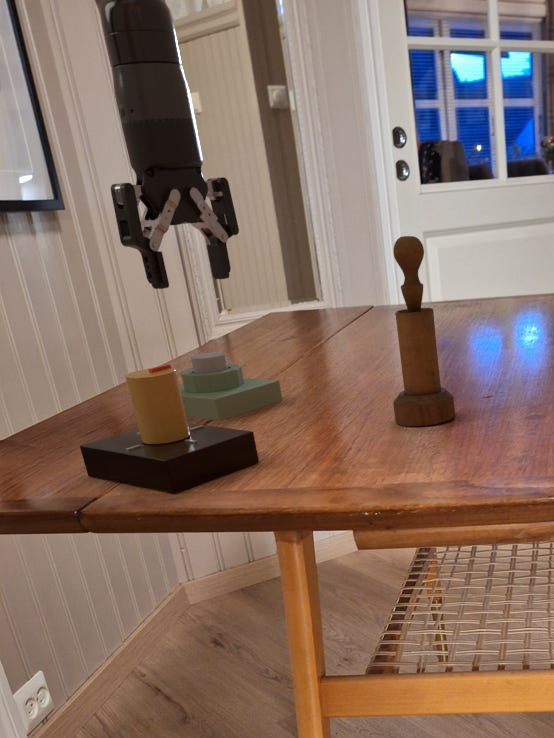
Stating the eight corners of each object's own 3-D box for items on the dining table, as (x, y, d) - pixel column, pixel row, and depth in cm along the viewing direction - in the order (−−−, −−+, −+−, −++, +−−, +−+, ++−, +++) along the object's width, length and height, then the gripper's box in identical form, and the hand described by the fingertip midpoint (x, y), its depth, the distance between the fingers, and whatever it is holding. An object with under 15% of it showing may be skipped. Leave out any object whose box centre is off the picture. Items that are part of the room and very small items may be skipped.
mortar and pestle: (407, 411, 97) (388, 235, 89) (462, 411, 96) (448, 231, 87) (386, 427, 92) (364, 240, 83) (445, 427, 90) (428, 236, 81)
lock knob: (163, 446, 79) (145, 375, 76) (131, 441, 81) (113, 372, 78) (200, 433, 82) (185, 365, 79) (169, 430, 84) (153, 363, 81)
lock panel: (88, 476, 83) (78, 443, 81) (173, 448, 90) (166, 418, 88) (174, 494, 76) (165, 458, 74) (259, 462, 83) (253, 429, 82)
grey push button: (187, 375, 104) (183, 357, 103) (213, 368, 106) (210, 351, 106) (209, 377, 102) (205, 359, 101) (235, 370, 104) (232, 352, 103)
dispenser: (154, 412, 106) (145, 375, 103) (218, 394, 113) (210, 358, 111) (219, 421, 99) (211, 381, 97) (282, 401, 106) (276, 363, 104)
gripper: (120, 114, 84) (160, 292, 92) (233, 114, 94) (261, 275, 102) (76, 121, 88) (119, 292, 96) (190, 121, 98) (220, 275, 106)
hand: (192, 283), depth 99 cm, fingers open, 8 cm apart
